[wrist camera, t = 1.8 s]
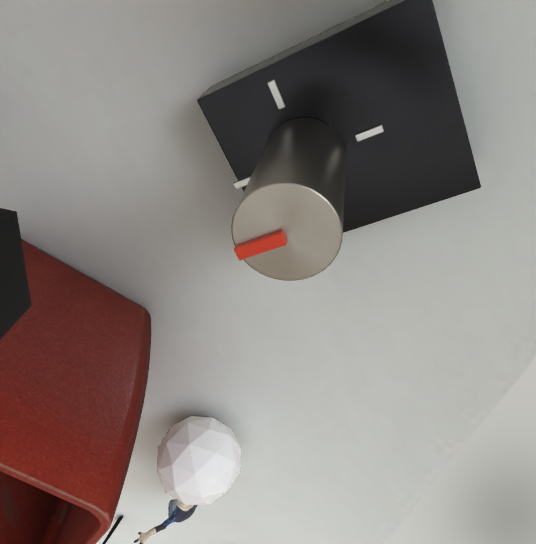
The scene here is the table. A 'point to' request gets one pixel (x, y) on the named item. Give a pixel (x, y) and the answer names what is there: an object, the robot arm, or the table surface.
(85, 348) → the flower pot
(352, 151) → the stove panel
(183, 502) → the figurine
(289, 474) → the table surface
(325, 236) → the stove knob
